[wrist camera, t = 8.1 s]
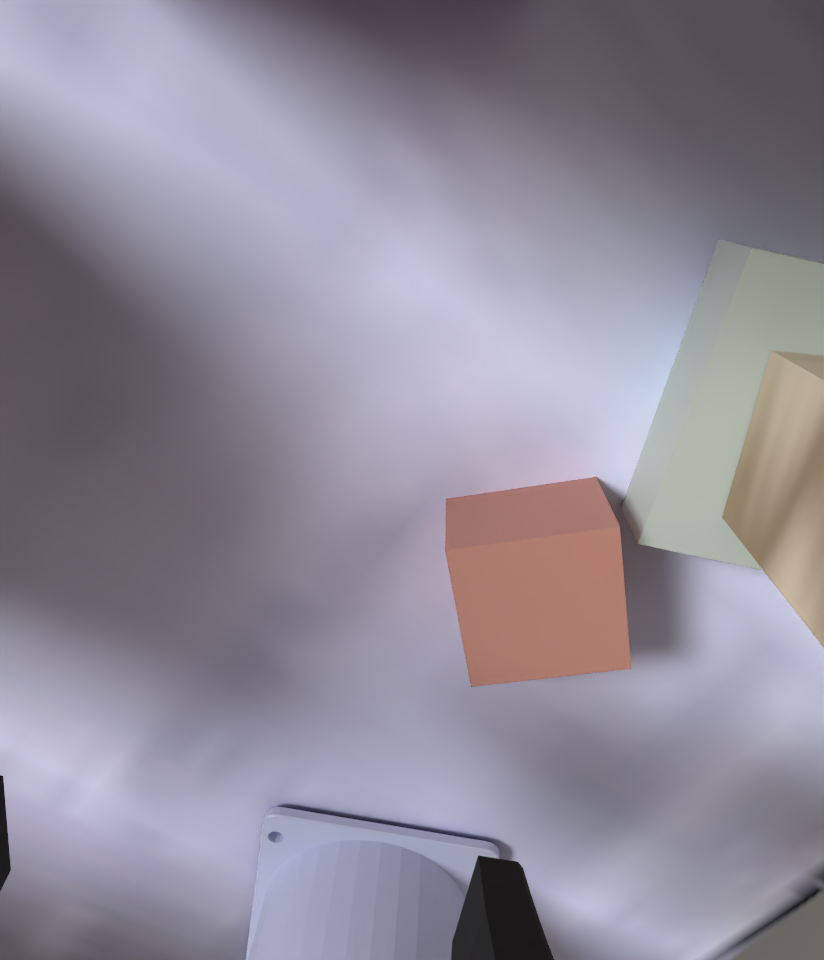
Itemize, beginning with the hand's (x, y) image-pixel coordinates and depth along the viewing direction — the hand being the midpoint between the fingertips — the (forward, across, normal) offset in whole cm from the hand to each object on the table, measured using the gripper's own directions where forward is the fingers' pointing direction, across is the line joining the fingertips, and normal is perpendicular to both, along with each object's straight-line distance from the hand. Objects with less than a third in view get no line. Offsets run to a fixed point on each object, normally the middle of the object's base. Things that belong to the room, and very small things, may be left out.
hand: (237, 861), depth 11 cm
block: (+10, -5, -1) cm, 11 cm away
